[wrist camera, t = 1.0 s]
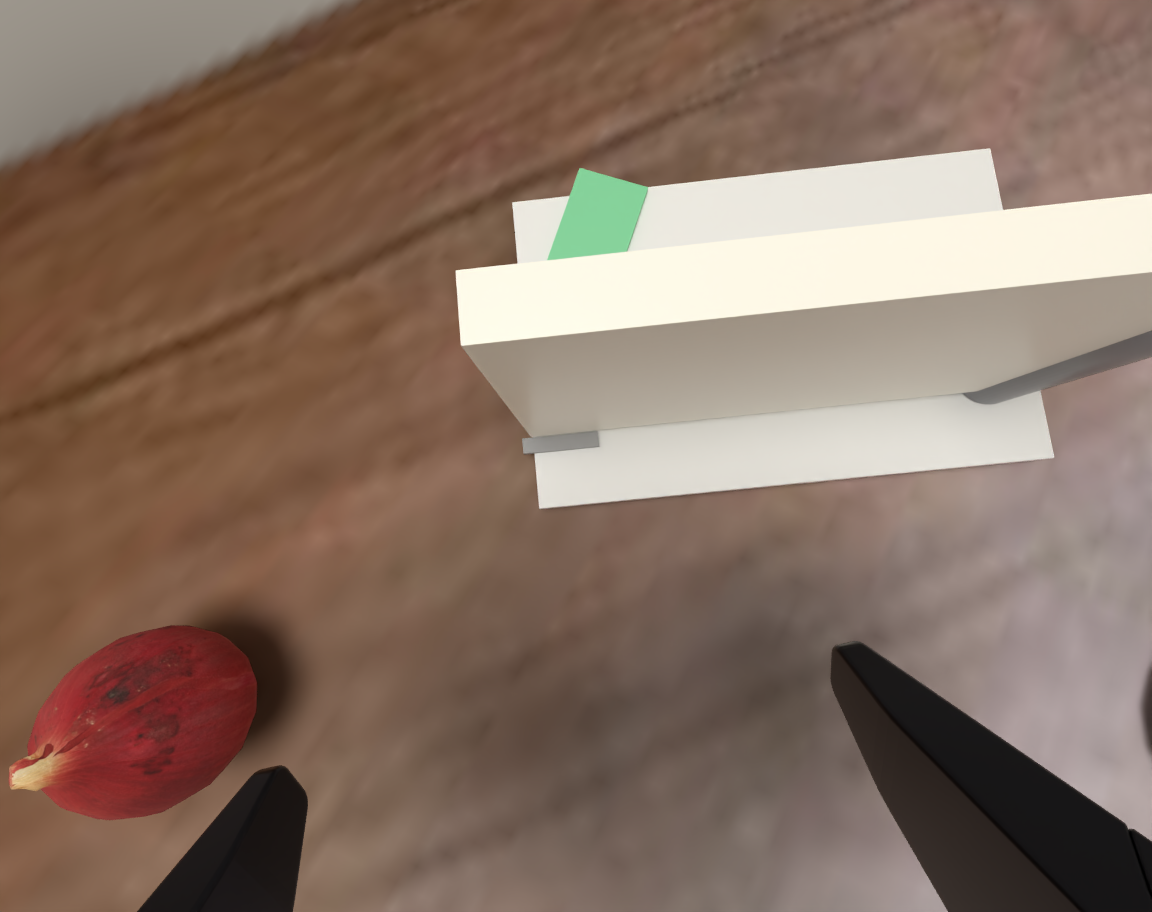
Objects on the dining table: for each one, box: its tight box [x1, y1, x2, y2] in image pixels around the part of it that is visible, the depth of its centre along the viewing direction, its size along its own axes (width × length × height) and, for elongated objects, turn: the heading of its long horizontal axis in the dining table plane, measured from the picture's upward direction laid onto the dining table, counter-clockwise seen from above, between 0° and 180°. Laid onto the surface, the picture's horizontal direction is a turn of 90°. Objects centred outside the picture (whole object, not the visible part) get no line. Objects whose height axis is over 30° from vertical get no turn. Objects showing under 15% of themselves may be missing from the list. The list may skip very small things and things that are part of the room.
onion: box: [9, 626, 257, 820], centre depth 18 cm, size 6×6×8 cm
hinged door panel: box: [456, 194, 1152, 437], centre depth 14 cm, size 20×4×15 cm, turn 96°
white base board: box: [513, 149, 1054, 509], centre depth 23 cm, size 20×14×1 cm
